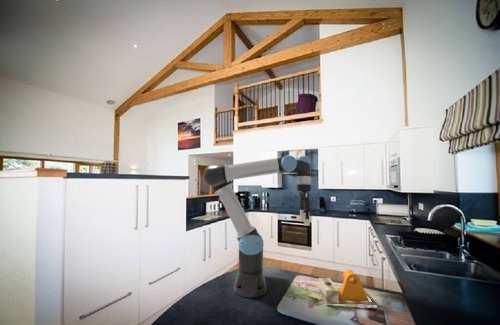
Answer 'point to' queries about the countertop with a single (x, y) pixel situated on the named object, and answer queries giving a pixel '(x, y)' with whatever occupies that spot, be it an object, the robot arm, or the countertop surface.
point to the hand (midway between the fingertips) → (304, 223)
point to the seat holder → (337, 293)
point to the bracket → (352, 288)
